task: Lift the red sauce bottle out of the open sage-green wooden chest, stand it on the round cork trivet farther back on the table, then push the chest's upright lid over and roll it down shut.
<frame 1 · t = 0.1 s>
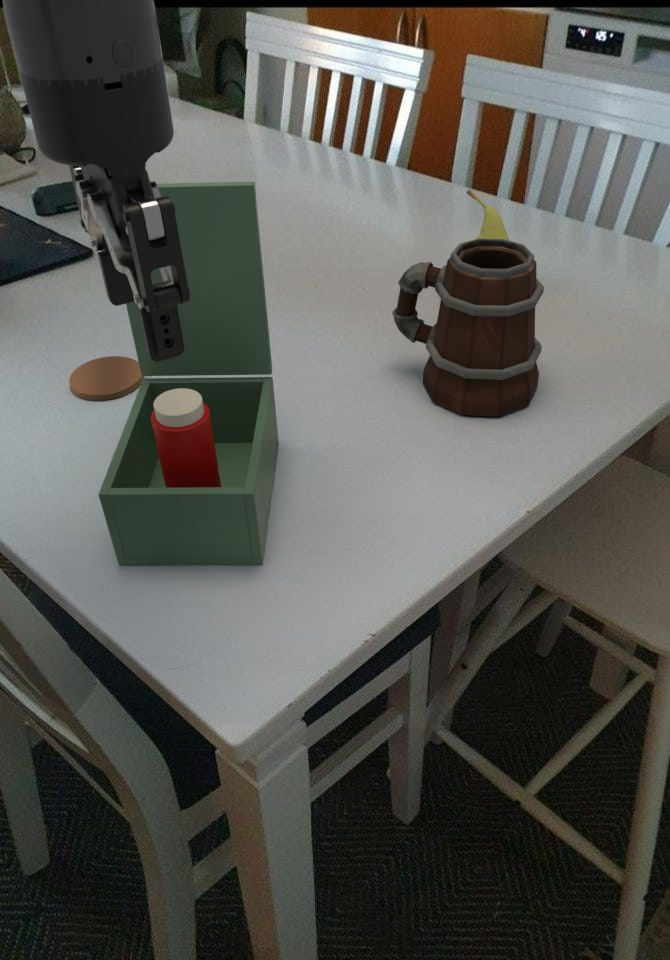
hand: (145, 327, 53), 22 cm above the table, tool pointing down, fingers open, 8 cm apart
chest lid: (197, 275, 71), point 17 cm above the table, hinge at 90.0°
chest: (205, 499, 74), on the table
sauce bottle: (199, 515, 71), point 1 cm above the table, touching chest
fruit: (485, 287, 105), on the table
mug: (460, 384, 87), on the table
trivet: (107, 380, 90), on the table
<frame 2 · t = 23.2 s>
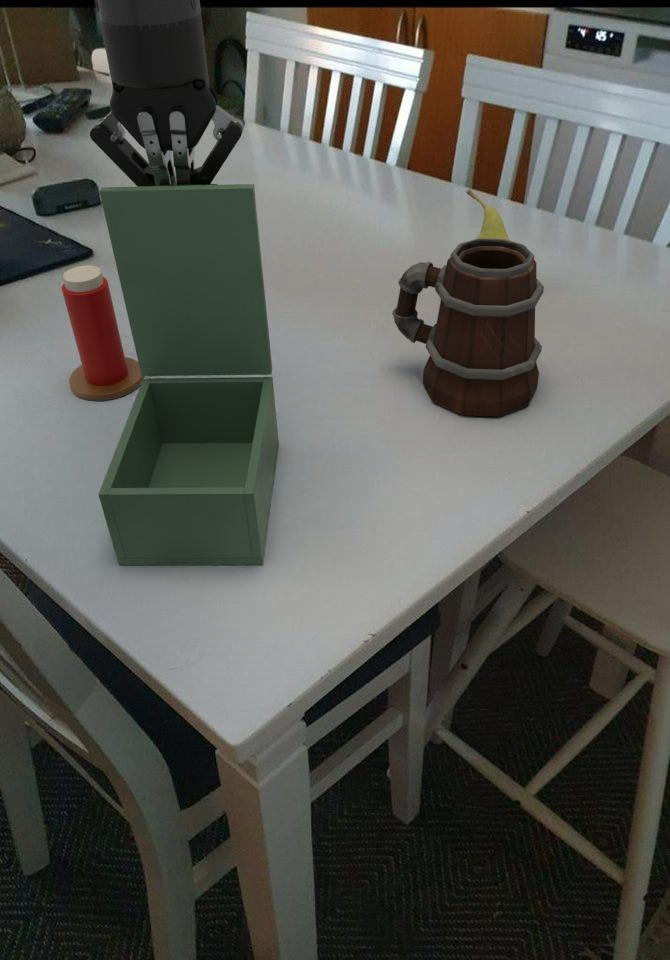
hand: (183, 232, 72), 20 cm above the table, tool pointing down, fingers closed
chest lid: (196, 276, 71), point 17 cm above the table, hinge at 88.1°, touching hand
sauce bottle: (106, 374, 89), point 1 cm above the table, touching trivet
everything else where it was.
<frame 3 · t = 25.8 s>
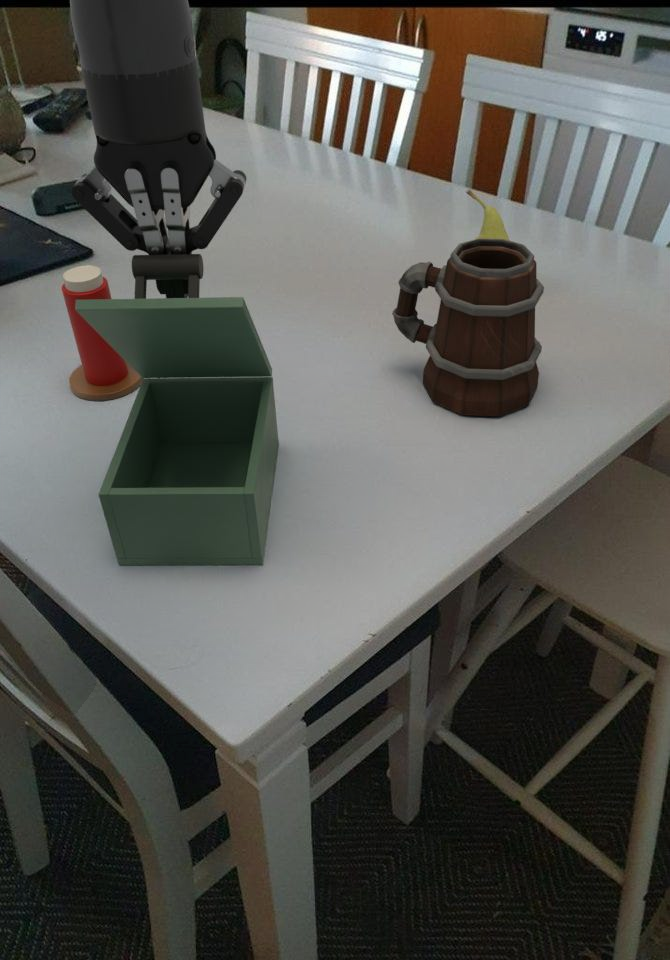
hand: (178, 296, 64), 19 cm above the table, tool pointing down, fingers closed
chest lid: (186, 318, 66), point 16 cm above the table, hinge at 48.6°, touching gripper
everything else where it was.
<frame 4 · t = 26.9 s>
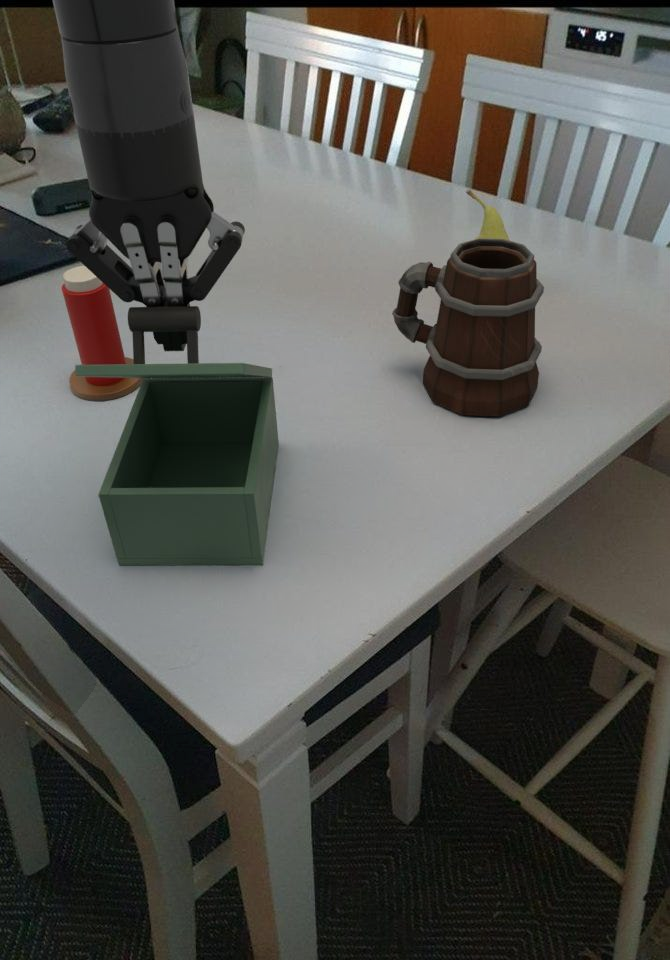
hand: (175, 346, 63), 16 cm above the table, tool pointing down, fingers closed
chest lid: (185, 345, 66), point 15 cm above the table, hinge at 33.0°, touching gripper
everything else where it was.
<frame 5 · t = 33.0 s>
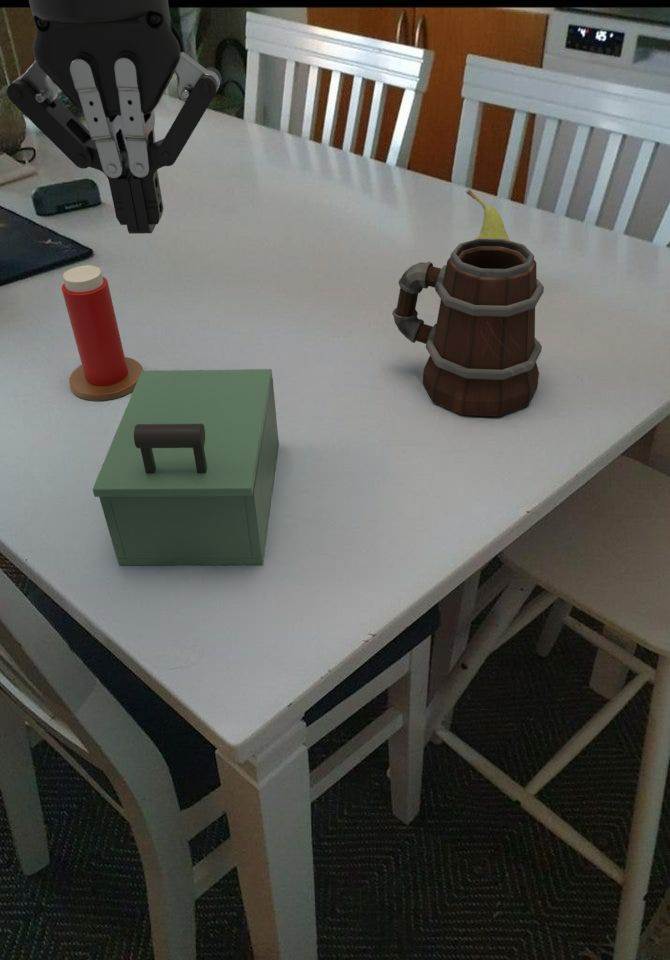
hand: (142, 228, 54), 27 cm above the table, tool pointing down, fingers closed
chest lid: (187, 406, 67), point 11 cm above the table, hinge at 1.2°
everything else where it was.
at the end: sauce bottle 0.1 cm off-centre on the trivet, point 0.8 cm above the trivet's base; sauce bottle tilted 0°; chest lid at +1° (first picture: +90°) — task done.
